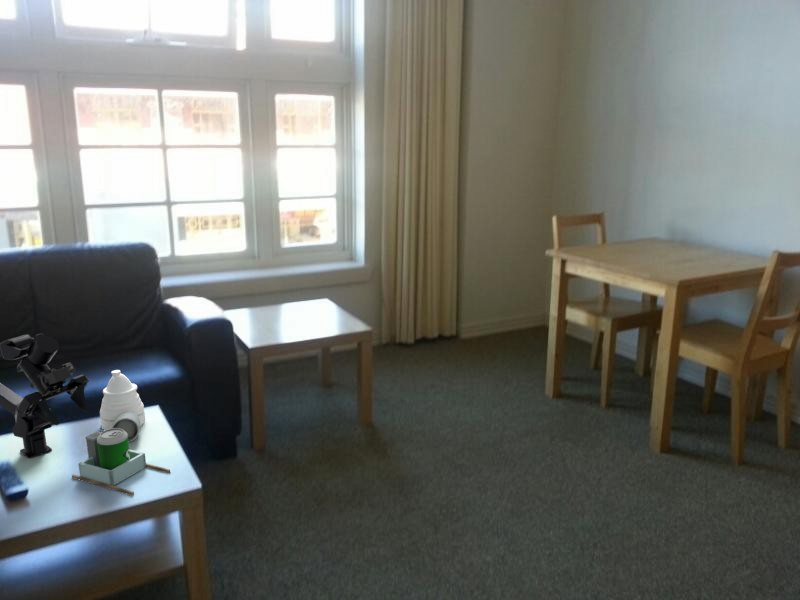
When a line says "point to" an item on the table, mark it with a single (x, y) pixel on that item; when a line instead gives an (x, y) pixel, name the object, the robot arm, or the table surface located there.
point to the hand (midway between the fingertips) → (73, 417)
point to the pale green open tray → (111, 477)
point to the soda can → (113, 448)
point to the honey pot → (120, 400)
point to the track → (118, 487)
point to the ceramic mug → (128, 424)
